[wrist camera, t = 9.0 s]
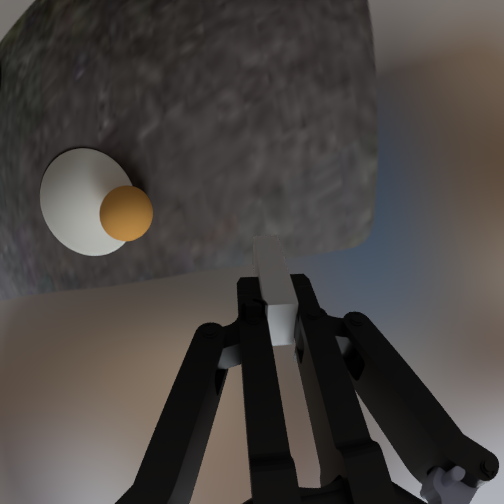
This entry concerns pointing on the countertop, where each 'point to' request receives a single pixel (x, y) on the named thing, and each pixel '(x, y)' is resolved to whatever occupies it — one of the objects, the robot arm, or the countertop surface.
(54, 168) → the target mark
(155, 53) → the countertop surface
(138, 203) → the ball
